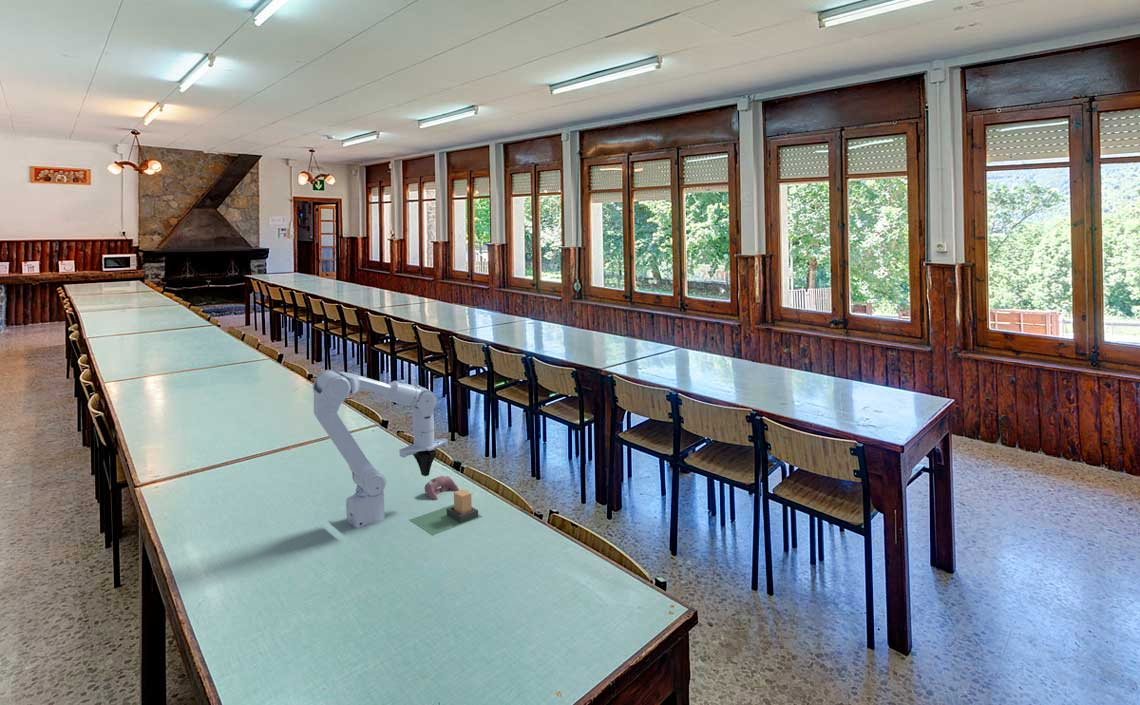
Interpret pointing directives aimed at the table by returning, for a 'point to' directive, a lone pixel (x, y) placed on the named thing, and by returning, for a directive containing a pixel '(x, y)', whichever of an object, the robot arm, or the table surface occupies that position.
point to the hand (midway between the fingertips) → (425, 475)
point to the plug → (462, 502)
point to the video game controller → (441, 481)
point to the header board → (444, 519)
